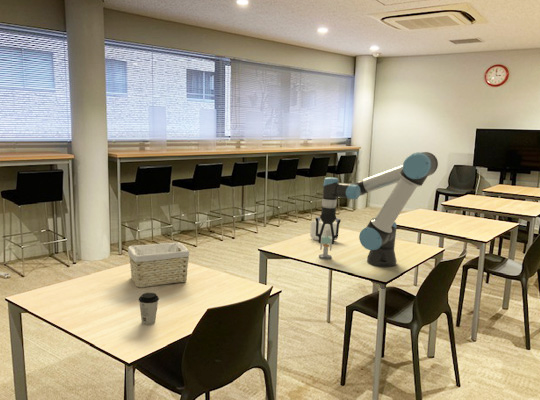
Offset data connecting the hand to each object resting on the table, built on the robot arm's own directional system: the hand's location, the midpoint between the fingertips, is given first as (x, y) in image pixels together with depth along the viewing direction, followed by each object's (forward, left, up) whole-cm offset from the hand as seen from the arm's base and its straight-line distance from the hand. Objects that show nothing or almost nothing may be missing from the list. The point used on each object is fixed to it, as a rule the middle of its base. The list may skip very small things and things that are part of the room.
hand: (325, 249), depth 258 cm
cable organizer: (+29, -26, -5) cm, 39 cm away
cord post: (0, 0, -5) cm, 5 cm away
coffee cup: (-28, +112, -5) cm, 116 cm away
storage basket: (+10, +91, -5) cm, 92 cm away
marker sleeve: (0, 0, +4) cm, 4 cm away
